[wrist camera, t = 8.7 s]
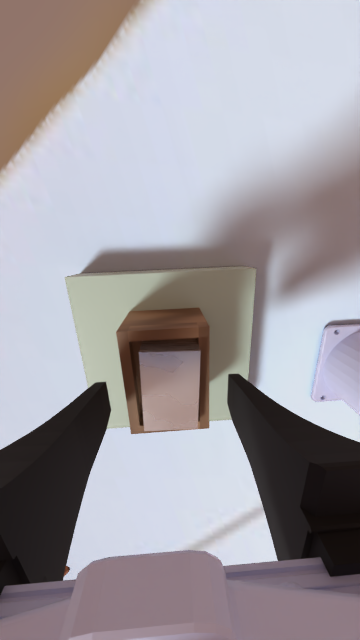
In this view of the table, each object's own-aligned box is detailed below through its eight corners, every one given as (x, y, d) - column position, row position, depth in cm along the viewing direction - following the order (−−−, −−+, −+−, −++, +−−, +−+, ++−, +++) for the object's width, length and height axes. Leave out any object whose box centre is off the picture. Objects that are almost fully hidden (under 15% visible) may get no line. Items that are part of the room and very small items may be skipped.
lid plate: (196, 339, 12) (200, 351, 11) (194, 410, 14) (197, 428, 12) (142, 340, 12) (138, 352, 11) (146, 412, 14) (144, 431, 12)
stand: (244, 266, 17) (256, 268, 14) (236, 399, 21) (245, 418, 18) (79, 273, 16) (64, 277, 14) (105, 408, 20) (97, 429, 18)
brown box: (199, 307, 15) (209, 326, 11) (200, 389, 17) (209, 428, 13) (129, 311, 15) (116, 331, 11) (139, 393, 17) (131, 434, 13)
